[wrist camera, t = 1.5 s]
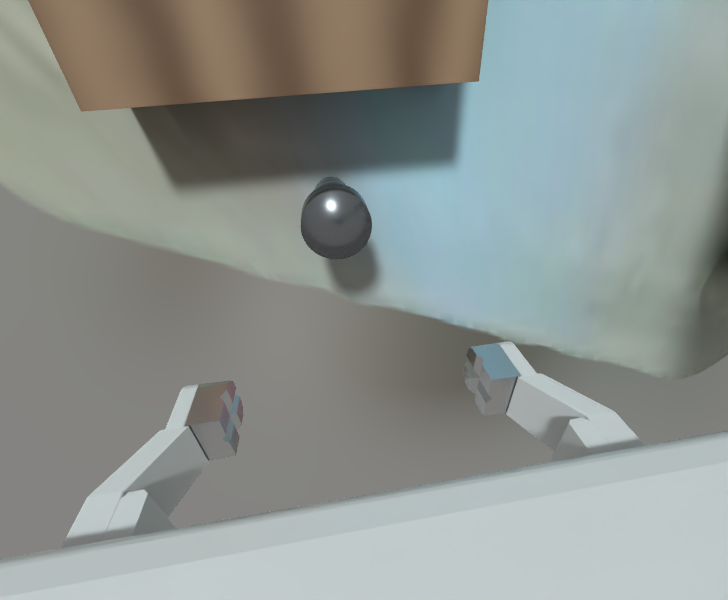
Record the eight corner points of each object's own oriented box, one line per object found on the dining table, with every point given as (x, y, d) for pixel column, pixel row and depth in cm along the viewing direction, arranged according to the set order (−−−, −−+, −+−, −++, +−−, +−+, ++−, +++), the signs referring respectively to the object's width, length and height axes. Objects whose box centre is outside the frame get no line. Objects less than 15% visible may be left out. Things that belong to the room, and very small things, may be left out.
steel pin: (357, 162, 29) (370, 188, 22) (360, 218, 31) (373, 255, 25) (298, 167, 28) (295, 195, 22) (307, 223, 31) (306, 262, 25)
